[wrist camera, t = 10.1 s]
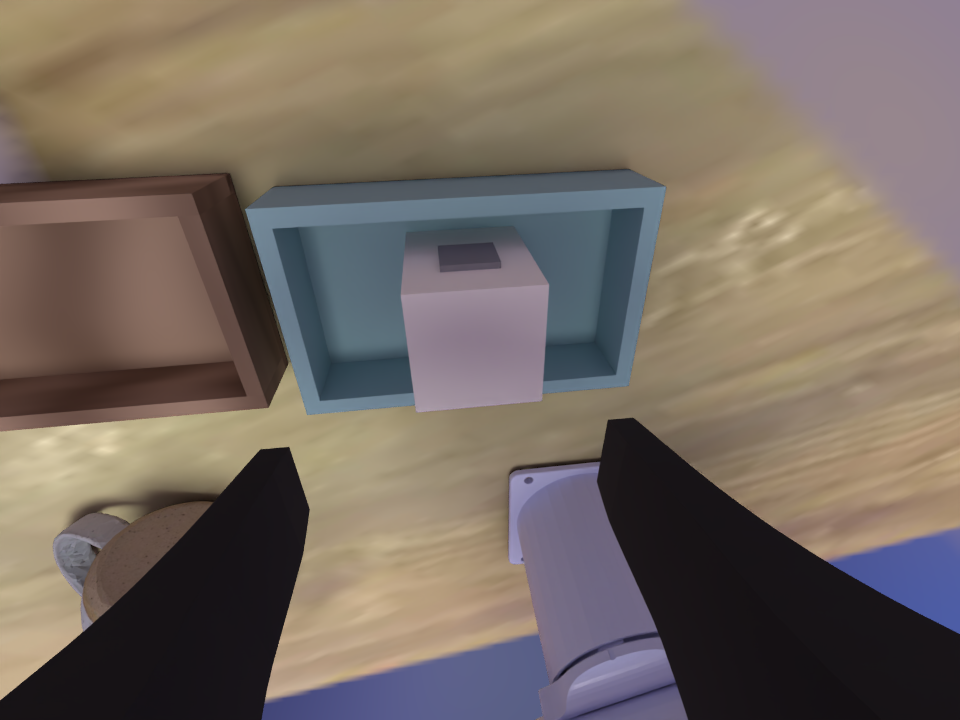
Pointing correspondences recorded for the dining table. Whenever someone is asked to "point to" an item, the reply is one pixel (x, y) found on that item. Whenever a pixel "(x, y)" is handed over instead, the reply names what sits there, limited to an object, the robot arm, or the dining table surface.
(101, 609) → the ceramic mug
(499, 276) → the letter block
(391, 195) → the teal tray
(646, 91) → the dining table surface
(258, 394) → the walnut tray
